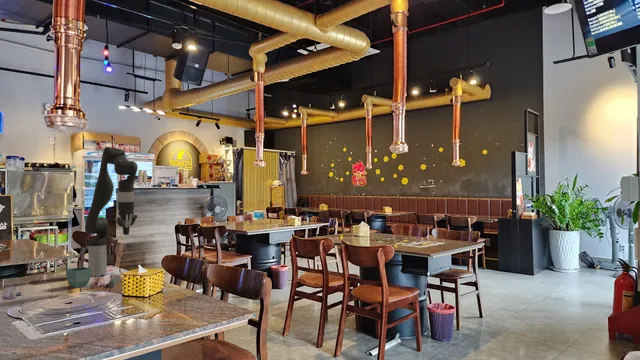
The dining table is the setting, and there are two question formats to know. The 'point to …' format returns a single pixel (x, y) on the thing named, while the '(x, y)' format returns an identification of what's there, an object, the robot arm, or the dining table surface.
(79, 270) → the flower pot
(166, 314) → the dining table surface
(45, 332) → the dining table surface
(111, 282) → the bumper bar
